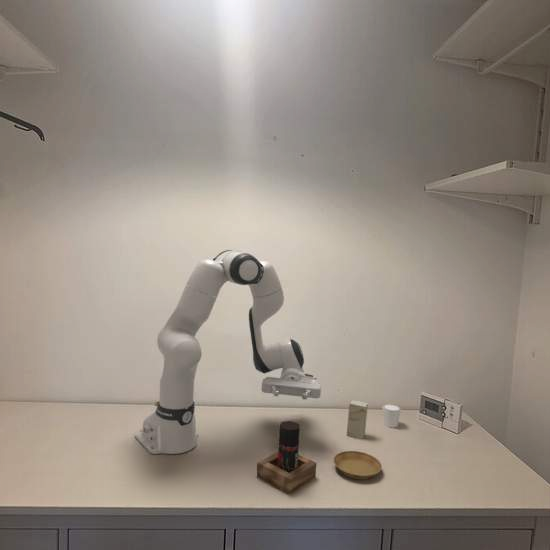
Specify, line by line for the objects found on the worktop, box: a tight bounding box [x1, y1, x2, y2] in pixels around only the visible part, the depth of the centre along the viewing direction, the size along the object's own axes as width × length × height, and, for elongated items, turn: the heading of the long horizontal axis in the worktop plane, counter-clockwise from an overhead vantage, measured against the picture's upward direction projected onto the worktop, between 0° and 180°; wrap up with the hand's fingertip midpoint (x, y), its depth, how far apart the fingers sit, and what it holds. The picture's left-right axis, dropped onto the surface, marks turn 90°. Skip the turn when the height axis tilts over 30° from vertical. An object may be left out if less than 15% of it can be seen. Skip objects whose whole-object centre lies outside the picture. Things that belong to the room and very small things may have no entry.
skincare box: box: [346, 399, 369, 440], centre depth 157 cm, size 6×4×12 cm
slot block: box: [256, 450, 317, 496], centre depth 127 cm, size 12×12×4 cm
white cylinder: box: [382, 403, 402, 428], centre depth 168 cm, size 7×7×7 cm
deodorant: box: [277, 420, 301, 473], centre depth 126 cm, size 6×6×15 cm
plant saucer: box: [333, 450, 382, 480], centre depth 134 cm, size 15×15×3 cm
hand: (290, 395), depth 140 cm, fingers open, 8 cm apart
